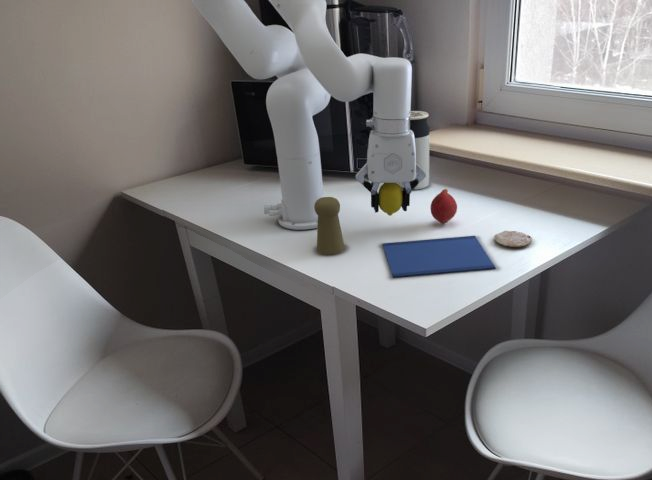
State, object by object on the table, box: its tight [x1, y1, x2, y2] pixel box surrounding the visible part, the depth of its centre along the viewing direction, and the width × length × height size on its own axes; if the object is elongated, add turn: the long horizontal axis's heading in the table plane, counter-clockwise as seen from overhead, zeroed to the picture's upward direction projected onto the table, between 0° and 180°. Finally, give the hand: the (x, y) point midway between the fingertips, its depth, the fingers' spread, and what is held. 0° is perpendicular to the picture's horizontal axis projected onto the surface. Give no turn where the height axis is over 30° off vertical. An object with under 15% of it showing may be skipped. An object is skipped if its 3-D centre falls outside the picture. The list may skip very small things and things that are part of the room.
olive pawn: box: [314, 196, 346, 256], centre depth 128 cm, size 6×6×11 cm
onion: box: [430, 188, 458, 225], centre depth 138 cm, size 6×6×8 cm
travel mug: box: [398, 110, 430, 191], centre depth 158 cm, size 8×8×18 cm
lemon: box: [377, 183, 403, 217], centre depth 135 cm, size 6×6×8 cm
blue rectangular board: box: [382, 235, 496, 279], centre depth 125 cm, size 20×16×1 cm
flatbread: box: [493, 230, 533, 248], centre depth 130 cm, size 8×8×1 cm
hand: (390, 208), depth 136 cm, fingers closed on lemon, 5 cm apart
